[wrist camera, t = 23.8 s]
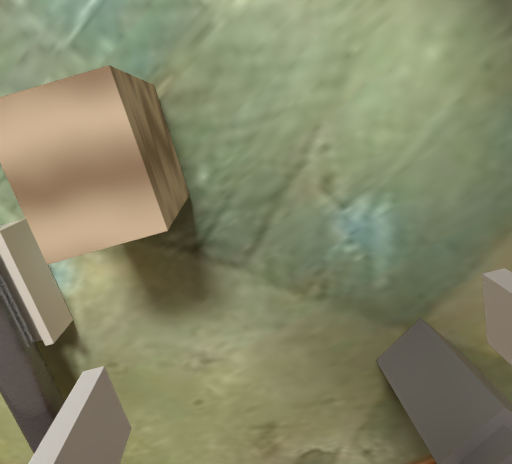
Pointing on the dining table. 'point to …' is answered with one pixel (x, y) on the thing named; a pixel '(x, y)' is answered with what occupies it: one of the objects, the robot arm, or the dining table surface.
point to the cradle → (32, 283)
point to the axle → (25, 374)
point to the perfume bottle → (448, 399)
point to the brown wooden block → (90, 162)
